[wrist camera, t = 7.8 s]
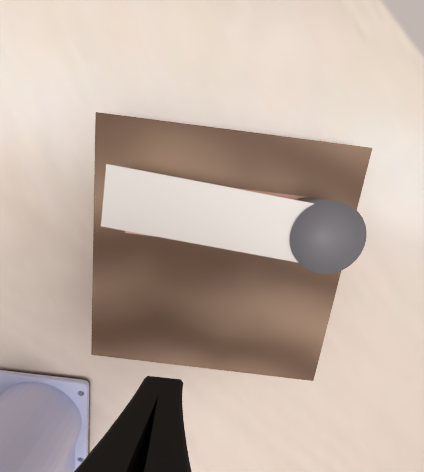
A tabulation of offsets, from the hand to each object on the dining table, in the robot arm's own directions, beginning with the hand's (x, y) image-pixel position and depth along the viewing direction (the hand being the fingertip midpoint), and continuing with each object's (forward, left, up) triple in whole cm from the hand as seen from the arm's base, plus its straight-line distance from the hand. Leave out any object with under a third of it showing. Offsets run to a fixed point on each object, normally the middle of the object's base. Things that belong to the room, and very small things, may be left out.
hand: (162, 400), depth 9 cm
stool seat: (+3, -2, -9) cm, 10 cm away
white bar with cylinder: (+6, -2, -7) cm, 10 cm away
